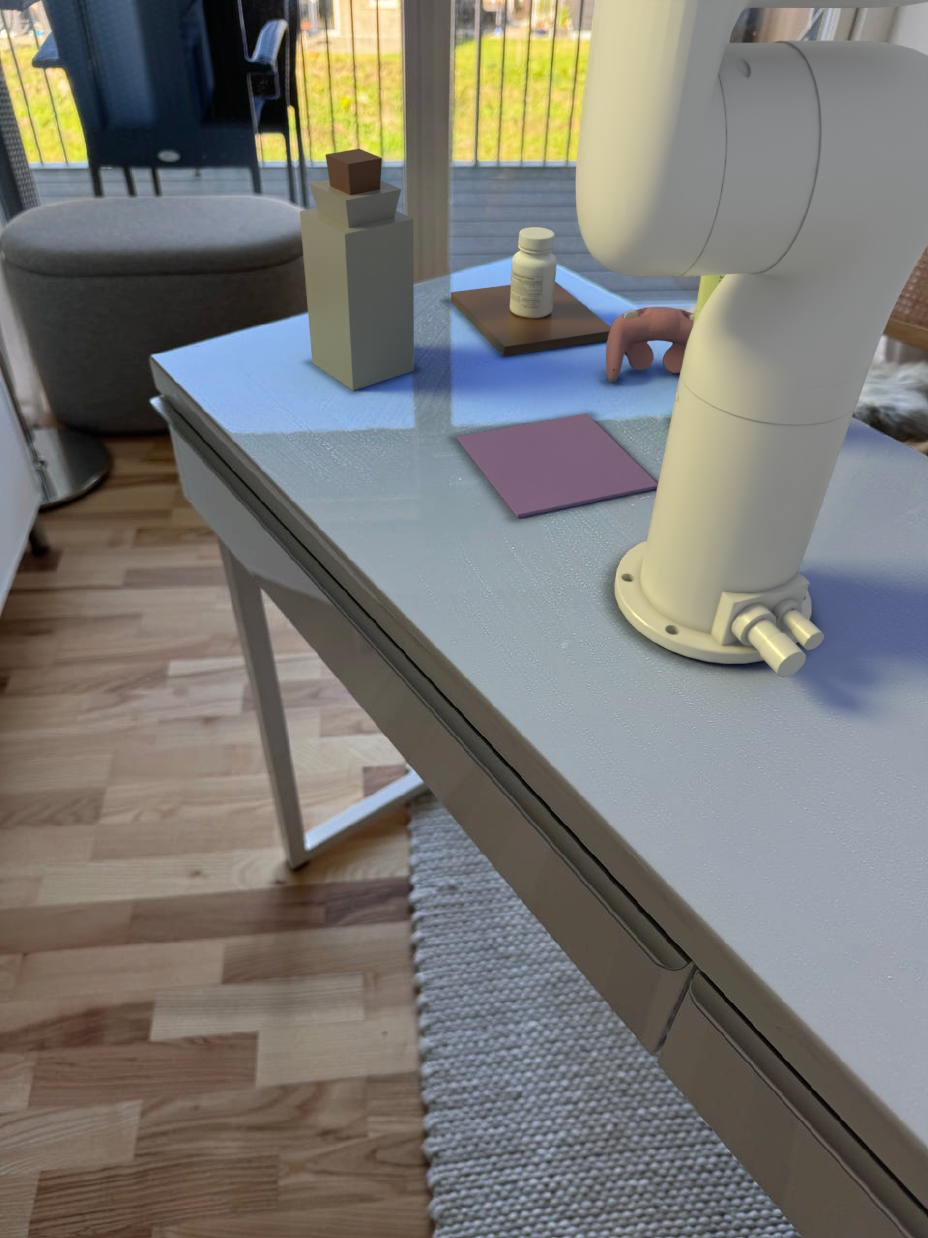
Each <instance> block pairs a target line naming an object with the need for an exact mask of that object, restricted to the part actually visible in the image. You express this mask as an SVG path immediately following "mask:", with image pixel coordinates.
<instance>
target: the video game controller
mask: <svg viewBox="0 0 928 1238" xmlns="http://www.w3.org/2000/svg"><path fill="white" fill-rule="evenodd" d="M694 318H695V313H693V312H690V311H688V310H685V309H681V308H675V307H669V306H647V307H642V308H637V309H629V310H628V311H626V312H625V313H623V314H621V315H619V316H618V317H616V318H615V319H614V320H613V322H612V324H611V325H610V326H611V328H610V332H609V335H608V340H607V341H606V347H605V371H606V377H607V380H608V381H609V382H610V383H615V382H616V381H617V380H618V378H619V376H620V373H621V370H622V366H623V361H624V356H625V357H626V358H627V361H628V363H629V366H630V367H631V368H632V369H634V370H636V371H644V370H647V369H649V368H650V367H651V366H652V364H653V362H654V359H655V354H654V351H653V348H652V347H651V346H650V345H649V343H648V342H655V341H656V342H657V341H658V342H666V343H667V342H668V343H672V344H671V345H670V347H669V348H667V350H666V351H665V352H664V354H663V357H662V365H663V368H664V370H665V371H667V372H668V373H670V374H680V372H681V368H682V364H683V359H684V354H685V349H686V346H687V342H688V339H689V336H690V333H691V331H692V328H693V324H694Z"/></svg>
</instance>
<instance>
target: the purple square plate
mask: <svg viewBox="0 0 928 1238" xmlns="http://www.w3.org/2000/svg"><path fill="white" fill-rule="evenodd" d="M456 437H457V438H456V439H457V441H458V442H459V443H460V445H461V446H462V447H463V449H464V450H465V451H466V452H467V454H468V456H470V458H471V459H472V461H473V462H474V463H475V464H476V466H477V467H478V468H479V469H480V471H481V472H482V474H483V476H485V477H486V478H487V480H488V481H489V482H490V484H491V485H492V486H493V488H494V489H495V491H496V492H497V493H498V495H499V496H500V498H502V499H503V501H504V502H505V504H506V505H507V507H509V508H510V510H511V511H512V512H513V514H514V515H515V517H516V518H518V519H519V518H524V517H529V516H534V515H538V514H542V513H548V512H552V511H557V510H562V509H566V508H571V507H577V506H581V505H585V504H591V503H594V502H599V501H604V500H609V499H614V498H619V497H624V496H628V495H629V496H630V495H632V494H637V493H643V492H648V491H652V490H657V487H658V483H657V482H656V480H655V479H654V478H653V477H652V476H650V474H649V473H647V471H646V470H644V468H642V467H641V466H640V464H639V463H637V462H636V460H634V458H633V457H631V456H630V454H628V453H627V451H625V449H623V448H622V447H621V446H620V445H619V444H618V443H617V442H616V441H615V440H614V438H613V437H611V436H610V435H609V434H608V433H607V432H606V431H605V430H604V429H603V428H602V427H601V426H600V425H599V424H598V423H597V422H596V421H595V420H594V419H593V418H592V417H591V416H590V415H589V414H588V413H581V414H576V415H571V416H564V417H559V418H554V419H553V418H552V419H546V420H542V421H535V422H531V423H525V424H519V425H514V426H507V427H502V428H496V429H491V430H484V431H479V432H475V433H468V434H463V435H457V436H456Z"/></svg>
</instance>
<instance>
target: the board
mask: <svg viewBox="0 0 928 1238" xmlns="http://www.w3.org/2000/svg"><path fill="white" fill-rule="evenodd" d="M510 291H511V284H505V285H497V286H490V287H482V288H481V287H480V288H474V289H466V290H459V291H458V290H457V291H451V292H450V302H451V303H452V304H453V305H454V307H456V308H457V309H458V311H459V312H461V313H462V315H463V316H465V318H466V319H467V320H468V321H469V322H470V323H471V324H472V325H473V326H474V327H475V328H476V329H477V330H478V331H479V332H480V333H481V334H482V335H483V336H484V337H485V338H486V339H487V340H488V342H490V344H492V346H494V348H495V349H496V350H498V352H499V353H500V354H501V355H502V356H503V357H508V356H509V357H510V356H515V355H522V354H523V355H524V354H530V353H535V352H541V351H549V350H555V349H562V348H568V347H569V348H570V347H575V346H582V345H588V344H595V343H602V342H607V340H608V335H609V332H610V328H611V326H612V325H609V324H608V323H607V322H606V321H604V320H603V319H602V318H601V317H600V316H598V315H597V314H596V313H594V312H593V311H592V310H591V309H590V308H589V307H588V306H586V304H584V303H583V302H581V301H580V300H579V299H578V298H576V297H575V296H574V295H573V294H571V293H570V292H569V291H568V290H566V288H564V287H563V286H562V285H561V284H559V283H558V282H557V281H555V287H554V298H553V309H552V312H551V313H550V314H549V315H547V316H545V317H541V318H525V317H521V316H518V315H516V314H514V313H513V312H511V310H510Z"/></svg>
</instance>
